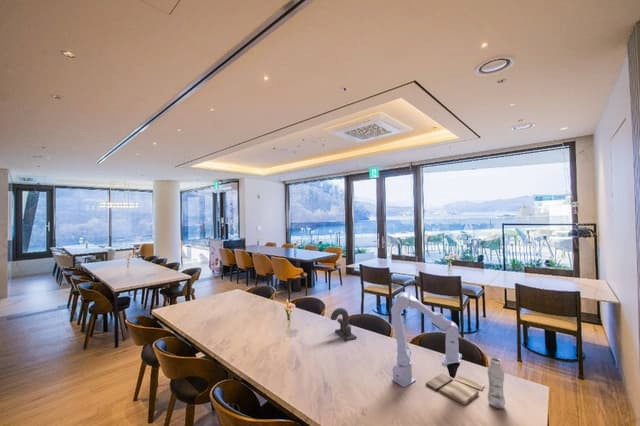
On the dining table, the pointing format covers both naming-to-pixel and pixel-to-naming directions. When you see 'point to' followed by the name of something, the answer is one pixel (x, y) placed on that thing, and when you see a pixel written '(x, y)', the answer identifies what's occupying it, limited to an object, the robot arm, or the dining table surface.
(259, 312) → the dining table surface
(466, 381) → the plank
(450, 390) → the oak plank
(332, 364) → the dining table surface
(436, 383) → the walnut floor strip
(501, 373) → the plastic bottle
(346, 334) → the faucet
